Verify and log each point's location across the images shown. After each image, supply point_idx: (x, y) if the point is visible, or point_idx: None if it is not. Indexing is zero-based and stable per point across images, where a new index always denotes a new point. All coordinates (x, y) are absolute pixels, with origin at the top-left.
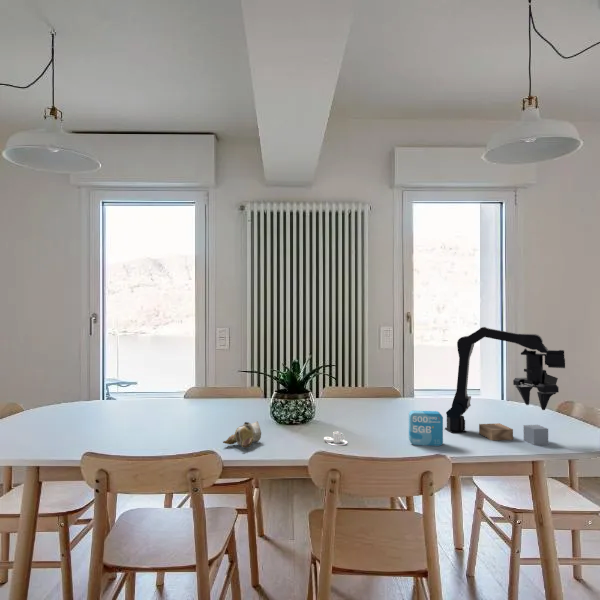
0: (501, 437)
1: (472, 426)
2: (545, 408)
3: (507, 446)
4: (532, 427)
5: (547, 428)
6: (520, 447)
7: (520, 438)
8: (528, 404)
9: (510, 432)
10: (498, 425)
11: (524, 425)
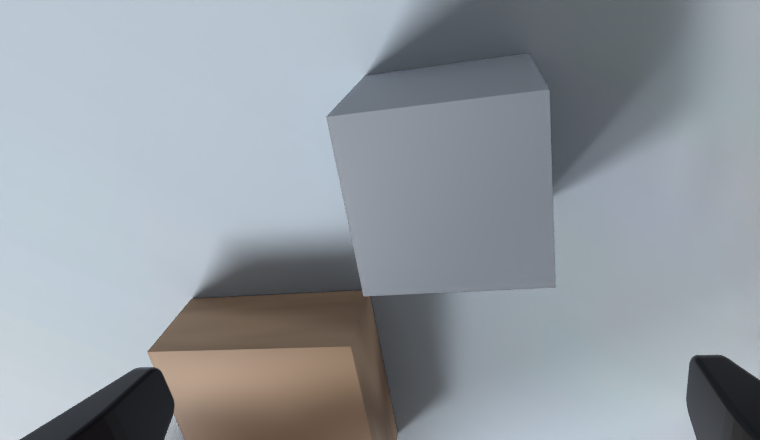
0: (381, 387)
1: (46, 386)
2: (752, 380)
3: (548, 411)
4: (469, 256)
5: (532, 90)
6: (587, 342)
7: (330, 213)
8: (158, 378)
9: (360, 347)
10: (227, 393)
11: (375, 293)
